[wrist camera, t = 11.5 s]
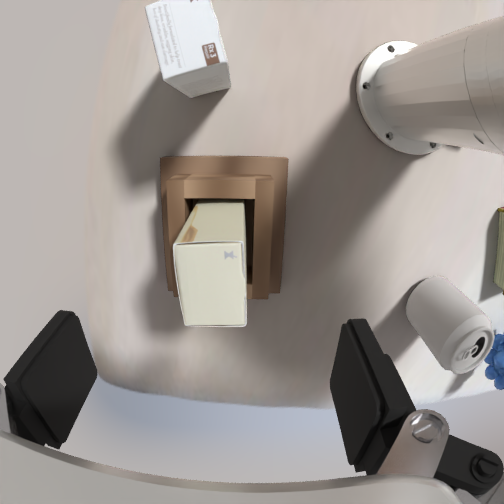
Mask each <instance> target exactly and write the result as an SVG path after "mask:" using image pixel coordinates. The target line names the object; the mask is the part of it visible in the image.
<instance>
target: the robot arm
mask: <svg viewBox="0 0 504 504" xmlns="http://www.w3.org/2000/svg"><path fill="white" fill-rule="evenodd" d="M388 50H389V51H388ZM362 85H365V87H366V88H365V89H364V88H363V86H362ZM356 92H357V100H358V104H359V107H360V111H361V113H362V115H363V117H364V119H365V122H366V123H367V125H368V126H369V128H370V129H371V131H372V132H373V133H374V134H375V135H376V136H377V137H378V138H379V139H380V140H381V141H382V142H384V143H385V144H386V145H387V146H389V147H391V148H393V149H395V150H397V151H400V152H403V153H407V154H413V155H422V154H427V153H431V152H434V151H435V150H437V149H439V148H440V147H442V146H443V145H444V144H446V145H453V146H459V147H465V148H470V149H476V150H481V151H486V152H491V153H496V154H500V155H504V16H502V17H498V18H495V19H491V20H488V21H485V22H482V23H479V24H475V25H472V26H469V27H466V28H463V29H460V30H457V31H454V32H451V33H449V34H446V35H443V36H440V37H438V38H435V39H433V40H430V41H427V42H425V43H422V44H420V45H417V44H414V43H411V42H406V41H392V42H387V43H384V44H382V45H380V46H378V47H377V48H375V49H374V50H372V51H371V52H370V53H369V54H368V55H367V56H366V57H365V59H364V60H363V62H362V64H361V66H360V68H359V72H358V75H357V83H356ZM386 134H387V135H388V137H387V138H386ZM96 378H97V369H96V366H95V363H94V361H93V358H92V355H91V353H90V350H89V347H88V344H87V342H86V339H85V335H84V332H83V329H82V326H81V323H80V320H79V318H78V316H76V315H75V313H74V312H72V311H63V310H60V311H58V312H57V313H56V314H55V315H54V317H53V318H52V319H51V320H50V321H49V322H48V324H47V325H46V326H45V327H44V328H43V330H42V331H41V332H40V333H39V334H38V336H37V337H36V338H35V339H34V341H33V342H32V343H31V344H30V345H29V347H28V348H27V349H26V351H25V352H24V353H23V354H22V355H21V357H20V358H19V360H18V361H17V362H16V363H15V364H14V366H13V367H12V368H11V370H10V371H9V372H8V374H7V375H6V377H5V378H4V381H5V383H6V386H5V388H4V387H3V385H2V384H0V504H504V472H503V470H504V468H503V463H502V461H501V459H500V458H499V456H498V455H497V454H495V453H493V452H492V451H489V450H487V449H484V448H481V447H479V446H476V445H474V444H471V443H469V442H466V441H464V440H461V439H459V438H457V437H454V436H452V435H449V426H448V423H447V421H446V419H445V418H444V417H443V416H442V415H441V414H439V413H437V412H435V411H432V410H428V409H422V410H417V411H416V409H415V406H414V404H413V402H412V400H411V398H410V396H409V394H408V392H407V390H406V388H405V386H404V384H403V382H402V379H401V377H400V375H399V373H398V371H397V369H396V367H395V365H394V364H393V362H392V360H391V358H390V356H389V355H387V354H383V352H382V350H381V348H380V346H379V344H378V342H377V340H376V338H375V336H374V334H373V332H372V330H371V328H370V326H369V324H368V322H367V321H366V319H349V320H348V321H347V324H343V325H342V328H341V333H340V338H339V343H338V347H337V352H336V357H335V361H334V366H333V370H332V374H331V379H330V389H331V393H332V397H333V401H334V405H335V409H336V413H337V417H338V421H339V425H340V429H341V433H342V438H343V442H344V446H345V450H346V455H347V459H348V462H349V464H350V465H354V467H355V471H356V472H362V471H366V474H367V475H366V476H358V477H348V478H338V479H329V480H319V481H307V482H289V483H224V482H209V481H197V480H187V479H178V478H170V477H163V476H157V475H151V474H145V473H140V472H134V471H129V470H125V469H120V468H116V467H111V466H107V465H103V464H99V463H95V462H91V461H88V460H84V459H81V458H78V457H74V456H71V455H68V454H65V453H61V452H59V451H56V450H53V449H50V448H47V447H45V446H44V445H45V443H46V444H47V445H48V446H51V447H54V448H56V449H60V447H61V445H62V443H64V442H66V440H67V438H68V436H69V433H70V431H71V429H72V427H73V425H74V423H75V420H76V419H77V417H78V414H79V412H80V410H81V408H82V406H83V404H84V402H85V400H86V398H87V396H88V394H89V392H90V390H91V388H92V386H93V384H94V382H95V380H96Z"/></svg>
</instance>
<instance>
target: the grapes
mask: <svg viewBox="0 0 504 504" xmlns="http://www.w3.org/2000/svg"><path fill="white" fill-rule="evenodd" d="M492 348H493V349H491V350H490V352H489V353H488V355H487V356H486V358H485V359H484V361H485V362H486V363H487V364H490V365H489V366H488V367H487V368H486V370H485V376H486V377H487V378H488V379H490V380H493V379H495V380H494V386H495V387H496V388H497V389H499V390H502V389H504V334H503V335H502V334H497V335H495V338H494V342H493V346H492Z"/></svg>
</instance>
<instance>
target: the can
mask: <svg viewBox="0 0 504 504" xmlns="http://www.w3.org/2000/svg"><path fill="white" fill-rule="evenodd" d="M406 316H407V318H408V320H409V322H410V323H411V324H412V326H413V327H414V328H415V330H416V331H417V333H418V334H419V335H420V337H421V338H422V339H423V341H424V342H425V344H426V345H427V346H428V348H429V349H430V351H431V352H432V354H433V355H434V356H435V358H436V359H437V361H438V362H439V364H440V365H441V366H442V367H443V368H444V369H445V370H450V371H452V372H453V373H454V374H463V373H467V372H469V371H471V370H473V369H474V368H475V367H477V366H478V365H479V364H480V363H481V362H482V361H483V360H484V359H485V358H486V356H487V355H488V353H489V352H490V350H491V348H492V346H493V342H494V338H495V336H494V331H493V330H492V325H491V320H490V319H489V317H488V316H487V315H486V314H485V313H484V312H483V311H482V310H481V309H480V308H479V307H478V306H476V305H475V304H474V303H473V302H472V301H471V300H470V299H469V298H468V297H467V296H466V295H465V294H464V293H463V292H461V291H460V290H459V289H458V288H457V287H456V286H455V285H454V284H453V283H451V282H450V281H449V280H448V279H447V278H445V277H443V276H433V277H430V278H427V279H425V280H424V281H422V282H421V283H420V284H419V285H418V286H417V287H416V288H415V289H414V290H413V291H412V293H411V295H410V297H409V298H408V301H407V305H406Z"/></svg>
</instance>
